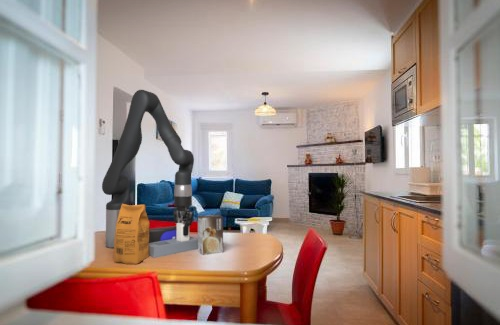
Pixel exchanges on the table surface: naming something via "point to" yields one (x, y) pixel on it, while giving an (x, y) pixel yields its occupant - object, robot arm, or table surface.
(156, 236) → the dark computer mouse
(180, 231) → the plug
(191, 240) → the block
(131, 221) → the coffee package
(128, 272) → the table surface
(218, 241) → the coffee box
